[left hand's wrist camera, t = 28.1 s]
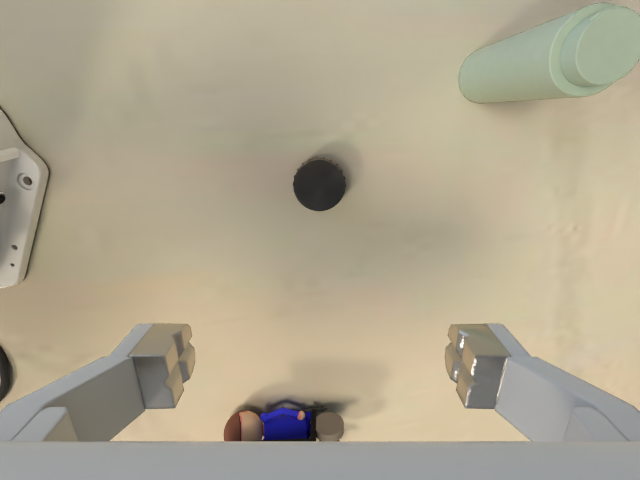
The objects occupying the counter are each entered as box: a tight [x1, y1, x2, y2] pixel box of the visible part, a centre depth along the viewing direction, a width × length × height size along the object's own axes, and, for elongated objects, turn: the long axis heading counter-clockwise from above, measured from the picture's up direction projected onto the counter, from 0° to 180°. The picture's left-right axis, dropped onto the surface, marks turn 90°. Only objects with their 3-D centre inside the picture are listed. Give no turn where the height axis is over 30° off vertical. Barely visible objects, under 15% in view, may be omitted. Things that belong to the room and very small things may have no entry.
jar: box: [459, 3, 640, 103], centre depth 24 cm, size 5×5×14 cm
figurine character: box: [224, 407, 344, 442], centre depth 42 cm, size 7×8×15 cm
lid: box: [293, 157, 346, 211], centre depth 34 cm, size 5×5×2 cm
